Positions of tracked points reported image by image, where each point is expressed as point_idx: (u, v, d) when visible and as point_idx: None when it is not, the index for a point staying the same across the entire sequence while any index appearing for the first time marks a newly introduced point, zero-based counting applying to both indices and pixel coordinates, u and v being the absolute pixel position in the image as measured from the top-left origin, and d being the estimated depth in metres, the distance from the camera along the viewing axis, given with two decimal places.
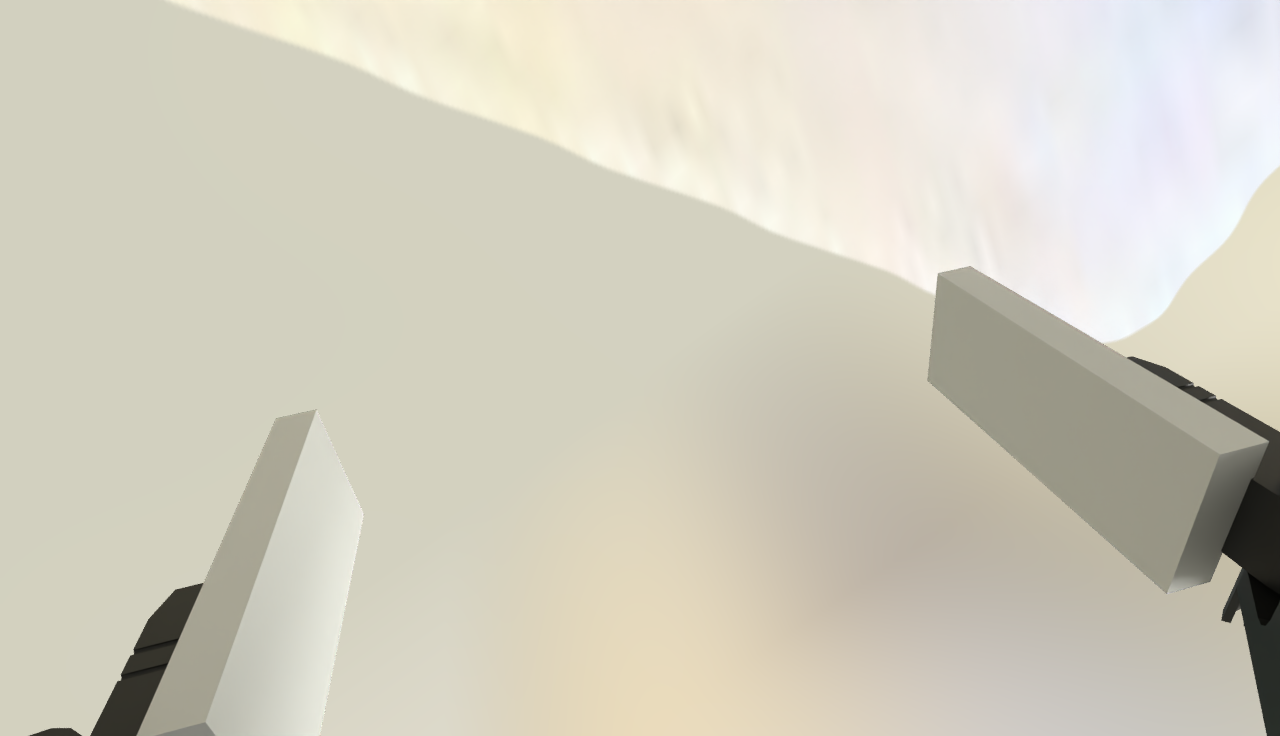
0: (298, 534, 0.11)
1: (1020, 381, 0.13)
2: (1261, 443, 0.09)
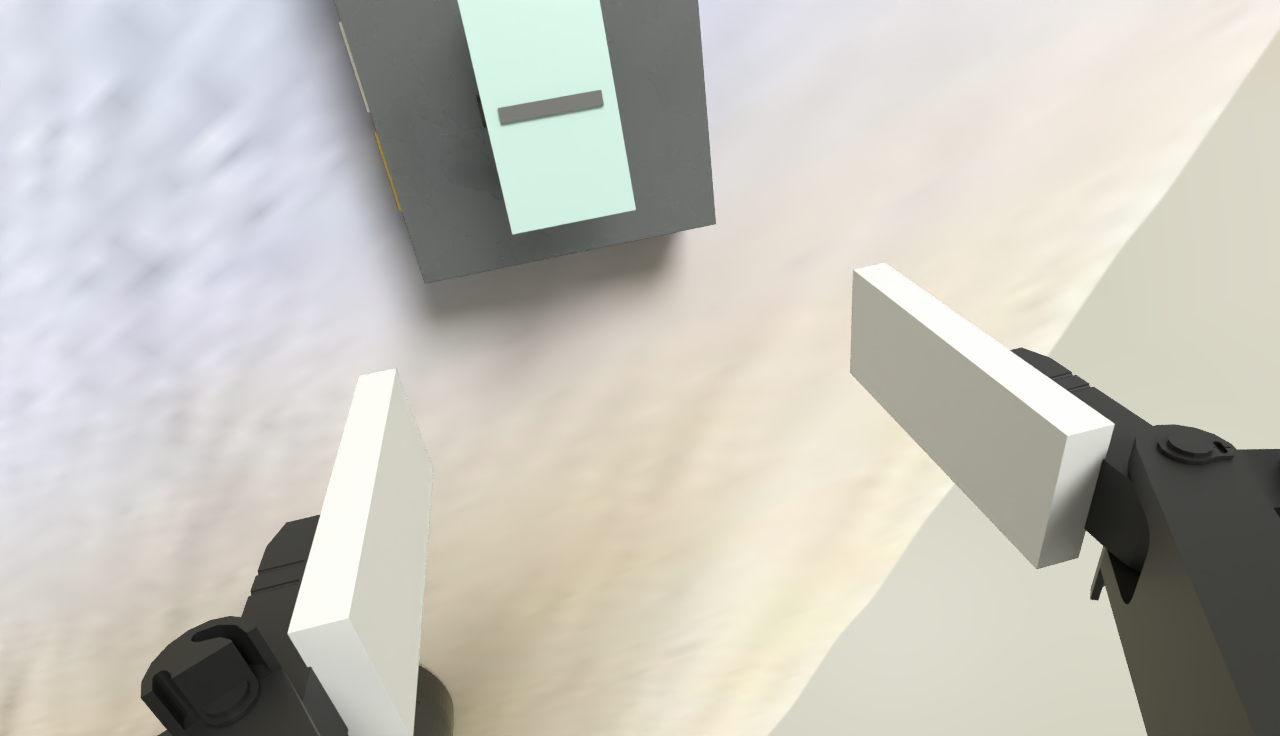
0: (393, 475, 0.12)
1: (920, 372, 0.13)
2: (1107, 425, 0.10)
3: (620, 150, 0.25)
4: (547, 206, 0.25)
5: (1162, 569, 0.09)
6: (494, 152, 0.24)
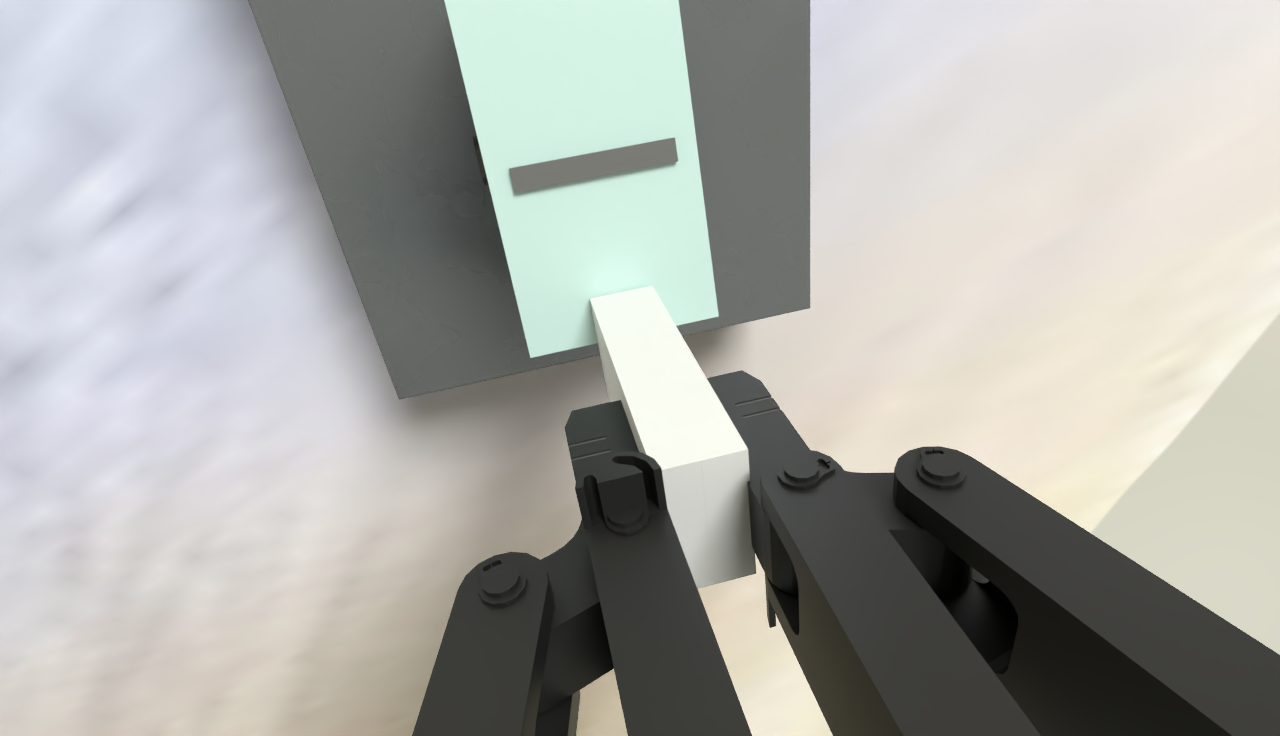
0: None
1: None
2: (739, 450, 0.10)
3: (699, 229, 0.16)
4: (585, 315, 0.16)
5: (813, 604, 0.09)
6: (503, 237, 0.15)
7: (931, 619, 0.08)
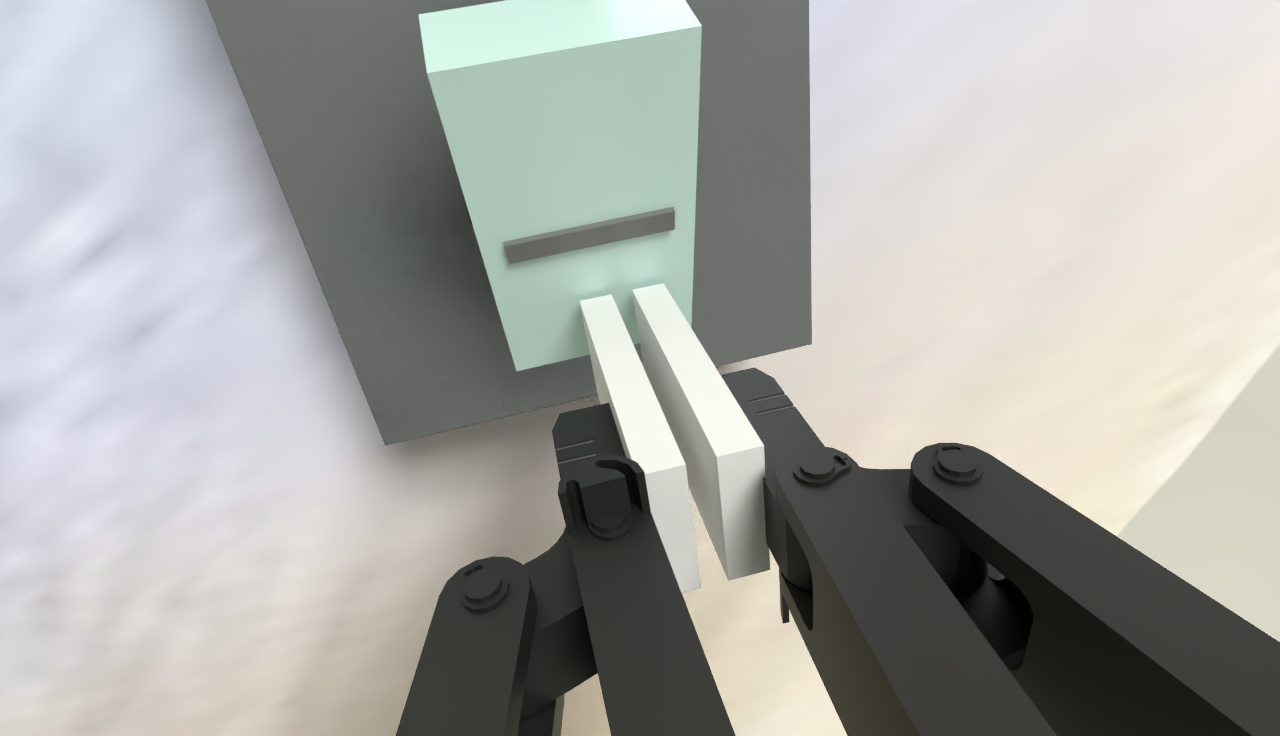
0: None
1: (666, 390, 0.14)
2: (755, 447, 0.11)
3: (685, 273, 0.16)
4: (569, 340, 0.17)
5: (827, 600, 0.09)
6: (495, 293, 0.15)
7: (946, 616, 0.08)
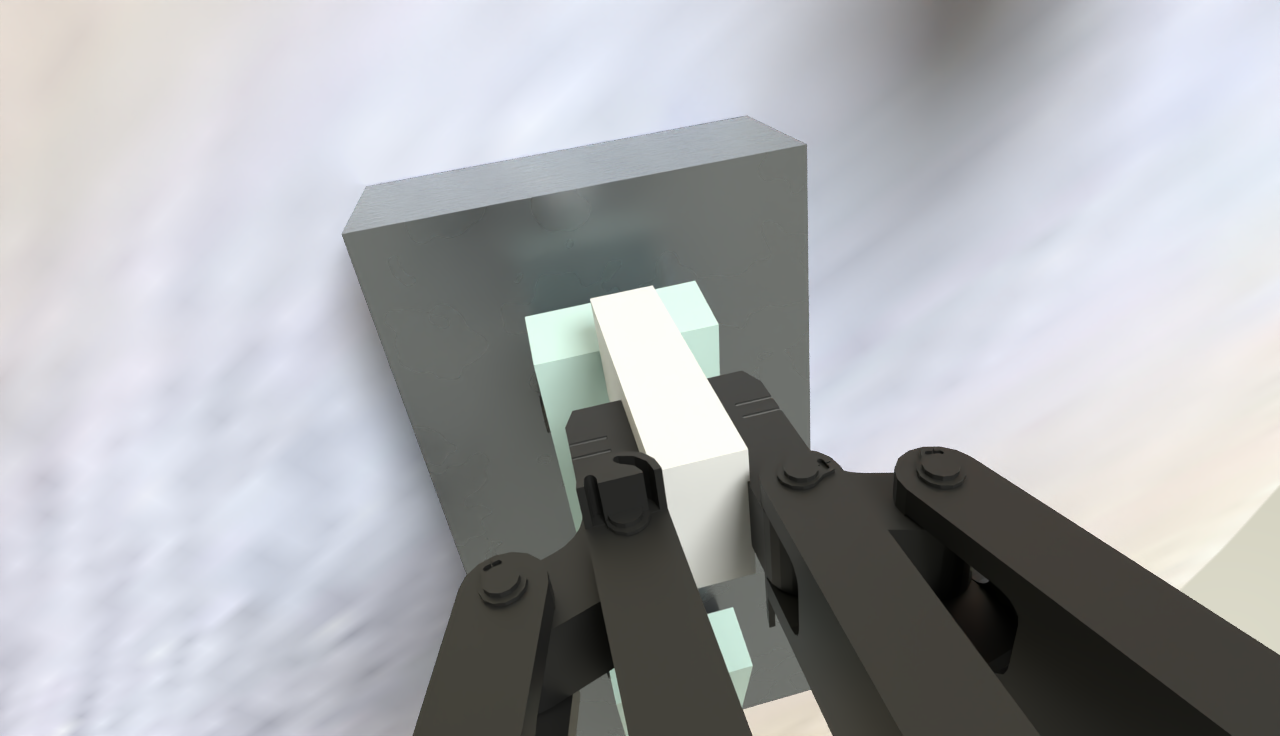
0: None
1: None
2: (739, 451, 0.10)
3: None
4: None
5: (813, 605, 0.09)
6: None
7: (931, 619, 0.08)
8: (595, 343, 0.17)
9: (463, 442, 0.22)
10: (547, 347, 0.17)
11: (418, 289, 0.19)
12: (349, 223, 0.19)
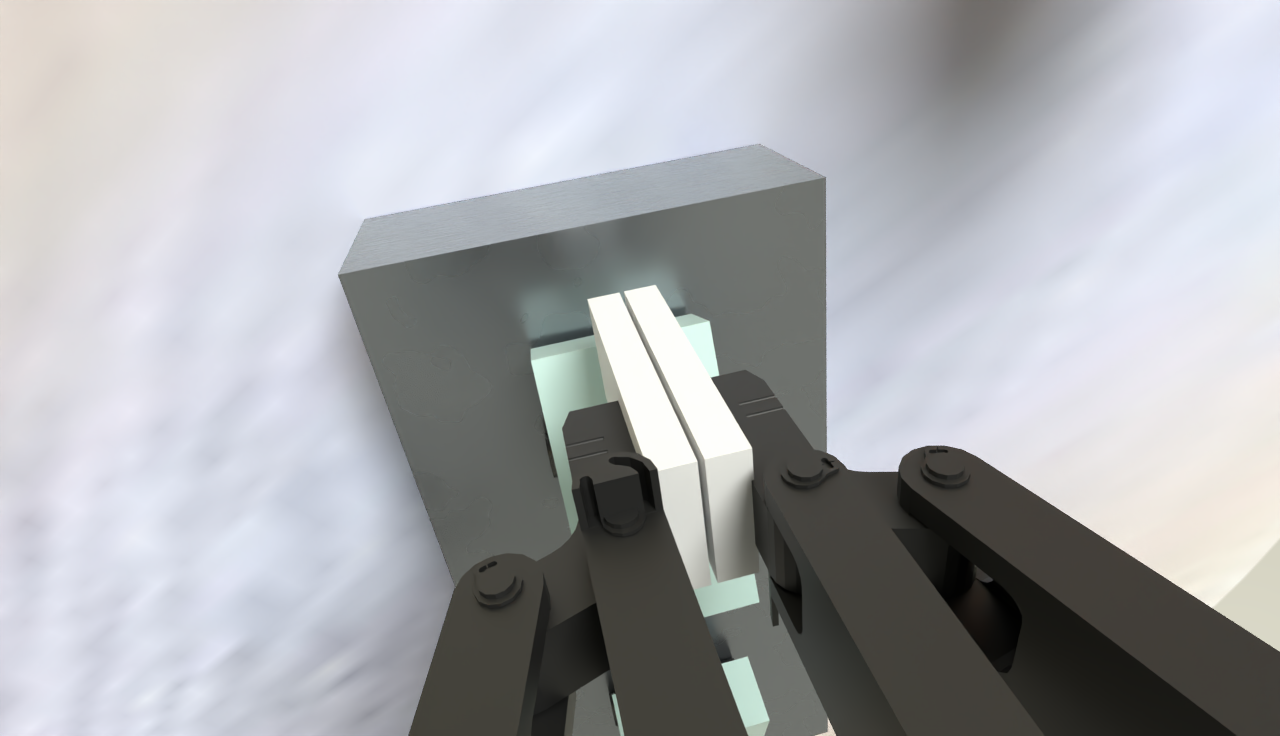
0: None
1: None
2: (743, 449, 0.10)
3: None
4: None
5: (816, 603, 0.09)
6: None
7: (934, 618, 0.08)
8: (591, 345, 0.18)
9: (465, 487, 0.21)
10: (546, 353, 0.18)
11: (419, 330, 0.18)
12: (346, 262, 0.18)
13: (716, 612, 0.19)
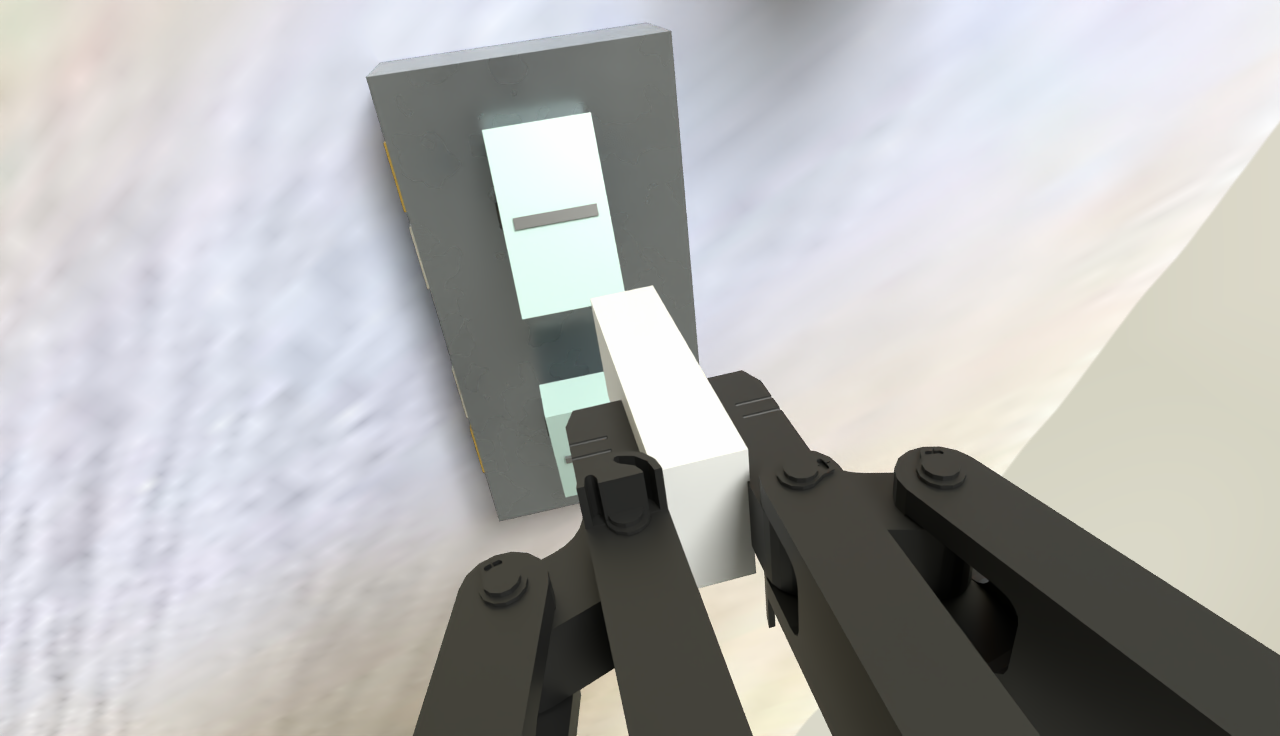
0: None
1: None
2: (739, 451, 0.10)
3: None
4: None
5: (812, 605, 0.09)
6: (559, 472, 0.37)
7: (930, 619, 0.08)
8: (519, 125, 0.29)
9: (444, 237, 0.33)
10: None
11: (414, 119, 0.30)
12: (370, 74, 0.29)
13: None
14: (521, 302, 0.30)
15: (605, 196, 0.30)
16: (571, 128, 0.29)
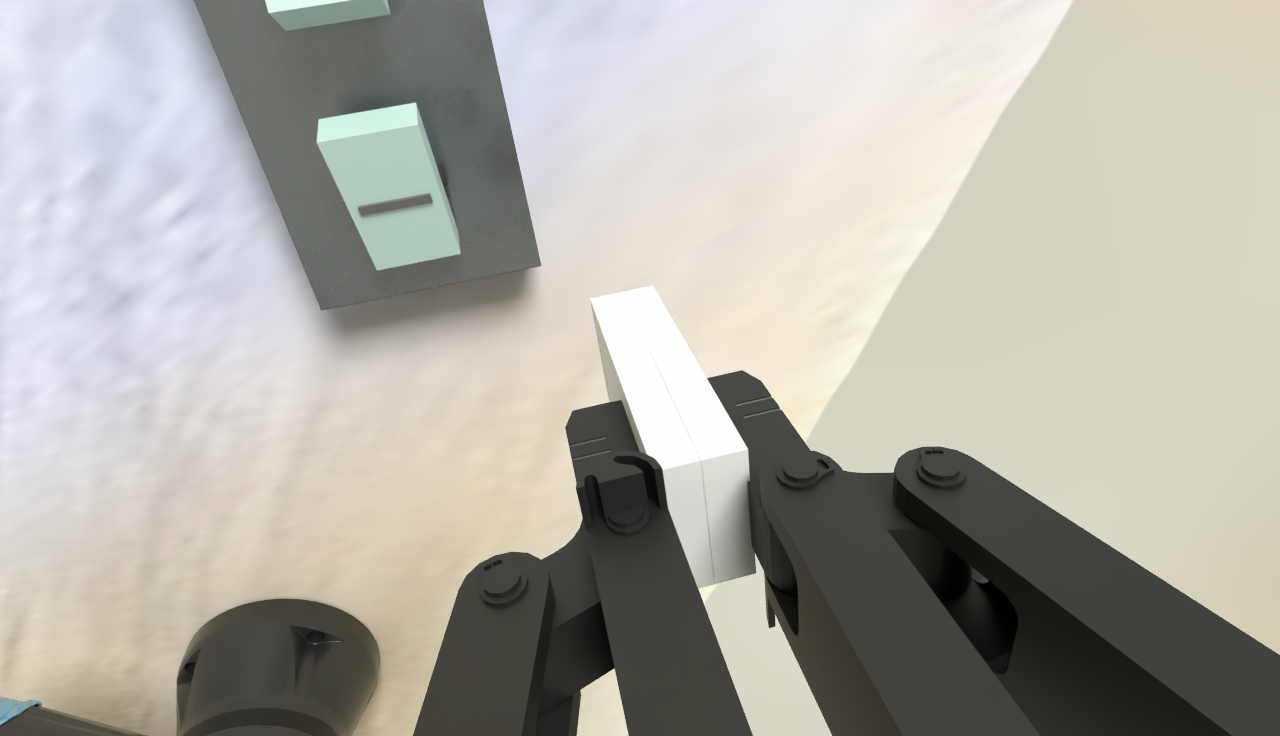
0: None
1: None
2: (739, 450, 0.10)
3: (447, 223, 0.37)
4: (399, 255, 0.38)
5: (813, 605, 0.09)
6: (358, 230, 0.36)
7: (930, 619, 0.08)
8: None
9: None
10: None
11: None
12: None
13: None
14: None
15: None
16: None
